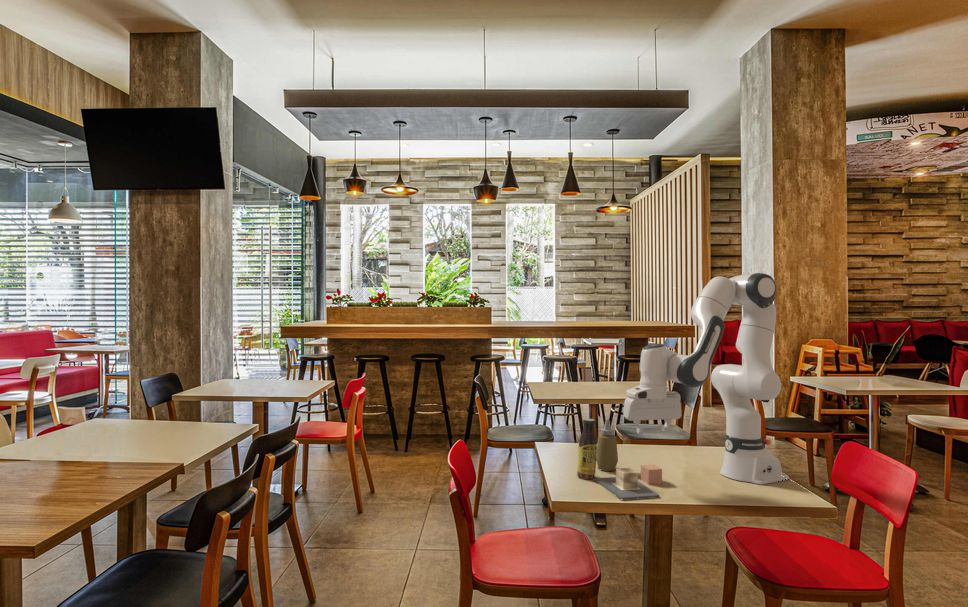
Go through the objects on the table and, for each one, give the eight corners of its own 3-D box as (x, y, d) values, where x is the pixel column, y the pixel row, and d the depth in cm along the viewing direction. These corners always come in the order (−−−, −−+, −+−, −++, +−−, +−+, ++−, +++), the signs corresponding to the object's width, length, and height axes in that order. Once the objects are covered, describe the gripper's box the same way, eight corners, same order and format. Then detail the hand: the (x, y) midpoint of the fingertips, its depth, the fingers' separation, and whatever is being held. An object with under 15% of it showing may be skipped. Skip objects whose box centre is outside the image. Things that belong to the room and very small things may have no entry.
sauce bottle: (582, 480, 177) (583, 421, 177) (573, 474, 183) (575, 417, 183) (599, 479, 179) (600, 421, 179) (590, 473, 185) (592, 417, 185)
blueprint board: (630, 478, 180) (630, 475, 180) (659, 497, 163) (659, 494, 163) (595, 480, 177) (595, 477, 177) (621, 500, 160) (621, 497, 160)
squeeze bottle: (619, 467, 192) (620, 418, 192) (615, 473, 185) (616, 423, 185) (597, 464, 195) (599, 416, 195) (592, 470, 188) (594, 420, 188)
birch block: (629, 482, 173) (629, 467, 173) (637, 488, 168) (637, 472, 168) (615, 483, 172) (616, 468, 172) (623, 489, 167) (623, 473, 167)
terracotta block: (653, 479, 181) (654, 464, 180) (661, 483, 176) (662, 469, 176) (640, 479, 179) (640, 465, 179) (648, 484, 175) (648, 469, 175)
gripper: (674, 389, 183) (674, 429, 183) (621, 390, 178) (620, 431, 178) (685, 392, 177) (685, 433, 177) (630, 394, 172) (630, 436, 172)
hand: (652, 432), depth 177 cm, fingers open, 8 cm apart
